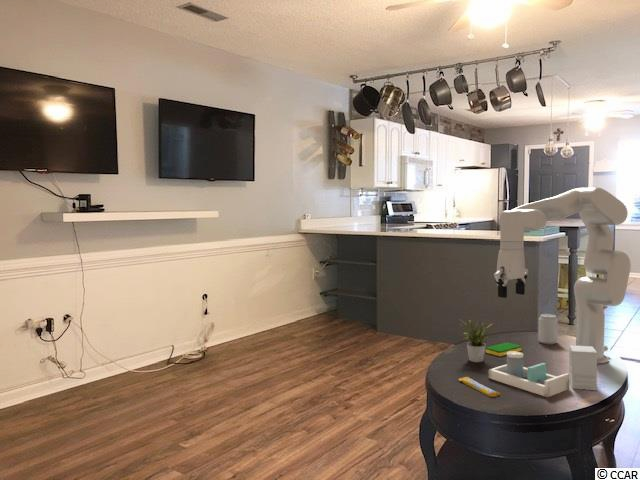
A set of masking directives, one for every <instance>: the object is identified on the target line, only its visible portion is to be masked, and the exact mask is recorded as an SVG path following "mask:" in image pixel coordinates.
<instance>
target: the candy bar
mask: <svg viewBox="0 0 640 480" xmlns="http://www.w3.org/2000/svg"><path fill="white" fill-rule="evenodd" d="M458 381H460V382H461V383H463V384H464V385H466V386H468V387H470V388H472V389H473V390H475V391H478V392H480V393H481V394H484V395H485V396H488V397H489V398H495V397H497V396H499V395H501V393H500V391H499V392H498V391H496V390H493V389H492V388H490V387H487V386H485V385H484V384H481V382H480V383H479V382H478V381H476V380H474V379H473V378H470V377H469V376H464V377H460V378H458Z"/></svg>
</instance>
